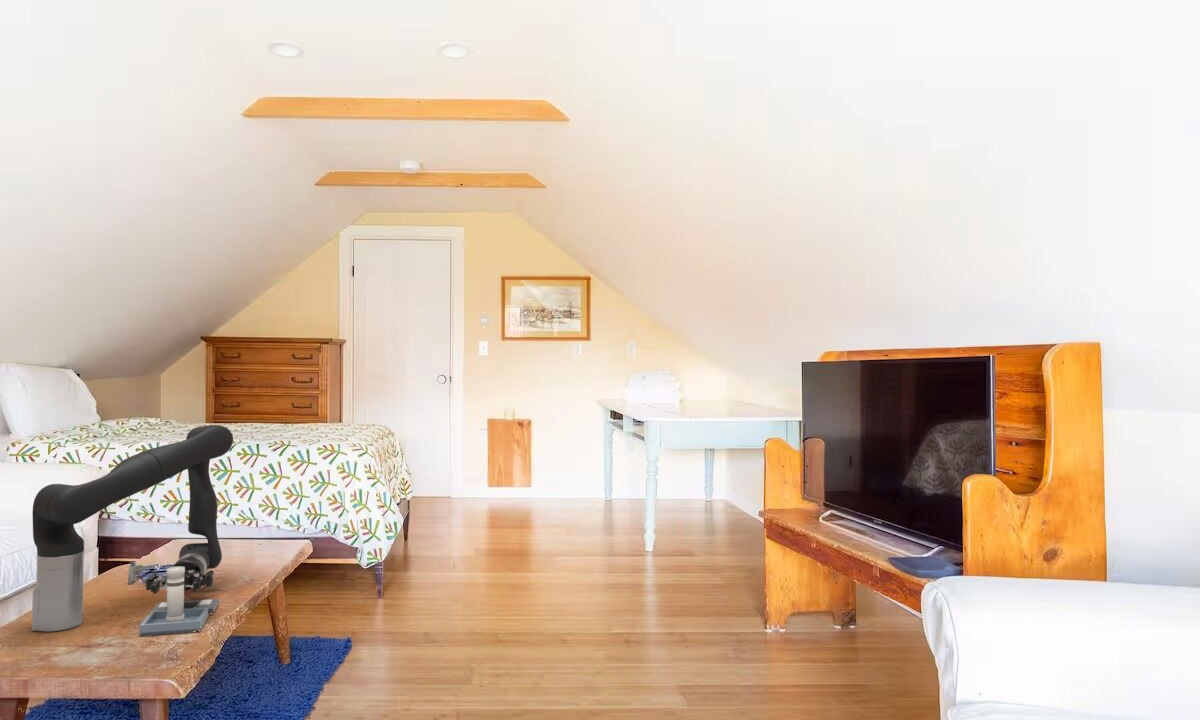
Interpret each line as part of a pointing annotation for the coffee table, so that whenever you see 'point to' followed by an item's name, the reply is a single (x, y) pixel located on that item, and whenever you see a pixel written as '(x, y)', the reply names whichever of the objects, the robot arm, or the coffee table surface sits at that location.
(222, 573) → the coffee table surface
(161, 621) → the parts tray
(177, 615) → the fuse
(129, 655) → the coffee table surface
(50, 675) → the coffee table surface
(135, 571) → the caliper
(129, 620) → the coffee table surface
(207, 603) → the block
